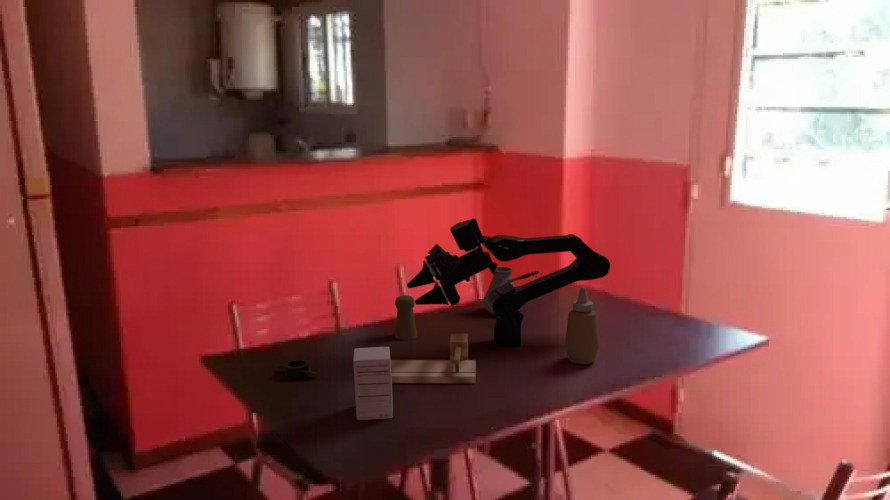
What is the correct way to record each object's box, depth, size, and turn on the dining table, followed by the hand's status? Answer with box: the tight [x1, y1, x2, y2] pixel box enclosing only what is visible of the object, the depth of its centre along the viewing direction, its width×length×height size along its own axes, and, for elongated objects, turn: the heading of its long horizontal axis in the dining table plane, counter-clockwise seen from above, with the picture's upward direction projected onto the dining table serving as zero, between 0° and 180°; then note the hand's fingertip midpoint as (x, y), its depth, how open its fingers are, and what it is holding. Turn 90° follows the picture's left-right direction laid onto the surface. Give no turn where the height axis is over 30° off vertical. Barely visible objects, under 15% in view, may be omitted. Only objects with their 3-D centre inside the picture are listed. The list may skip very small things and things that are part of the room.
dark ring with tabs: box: [277, 358, 319, 380], centre depth 167 cm, size 8×10×3 cm
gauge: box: [449, 333, 469, 372], centre depth 168 cm, size 4×15×6 cm, turn 177°
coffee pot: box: [482, 266, 543, 316], centre depth 206 cm, size 21×12×15 cm, turn 37°
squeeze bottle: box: [564, 286, 600, 365], centre depth 170 cm, size 8×8×18 cm
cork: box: [394, 294, 418, 341], centre depth 191 cm, size 6×6×11 cm
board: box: [390, 359, 477, 384], centre depth 165 cm, size 22×10×2 cm, turn 86°
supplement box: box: [352, 346, 394, 421], centre depth 145 cm, size 7×7×13 cm
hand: (411, 294), depth 178 cm, fingers open, 9 cm apart
